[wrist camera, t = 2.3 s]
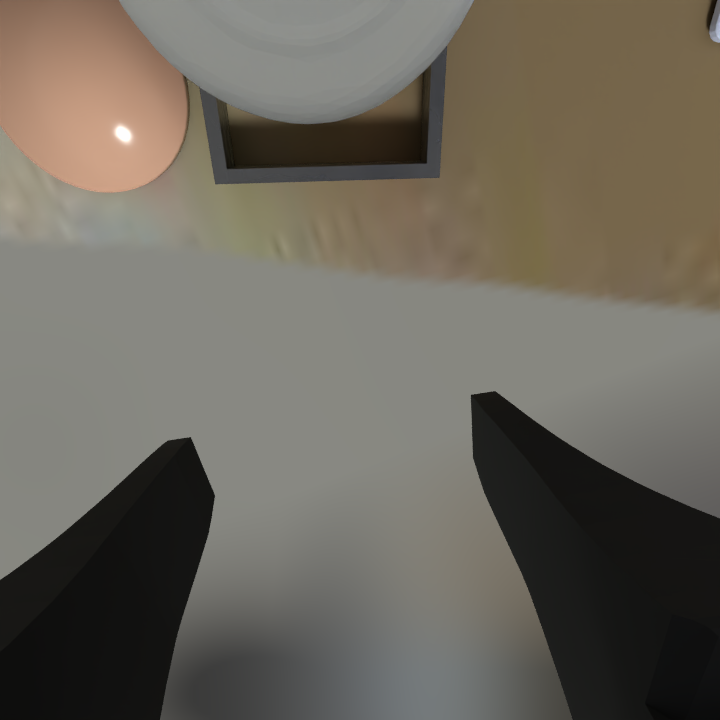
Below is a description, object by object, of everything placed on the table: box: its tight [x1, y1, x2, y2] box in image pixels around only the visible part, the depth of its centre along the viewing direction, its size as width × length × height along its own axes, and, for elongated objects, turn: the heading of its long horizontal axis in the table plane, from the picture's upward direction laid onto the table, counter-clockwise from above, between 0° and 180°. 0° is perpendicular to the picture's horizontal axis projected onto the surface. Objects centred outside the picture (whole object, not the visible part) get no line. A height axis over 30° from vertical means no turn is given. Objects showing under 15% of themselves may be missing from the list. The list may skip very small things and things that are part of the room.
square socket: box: [199, 46, 447, 184], centre depth 15 cm, size 8×8×2 cm
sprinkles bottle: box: [119, 0, 474, 124], centre depth 10 cm, size 5×5×14 cm
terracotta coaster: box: [0, 0, 189, 192], centre depth 16 cm, size 7×7×1 cm
